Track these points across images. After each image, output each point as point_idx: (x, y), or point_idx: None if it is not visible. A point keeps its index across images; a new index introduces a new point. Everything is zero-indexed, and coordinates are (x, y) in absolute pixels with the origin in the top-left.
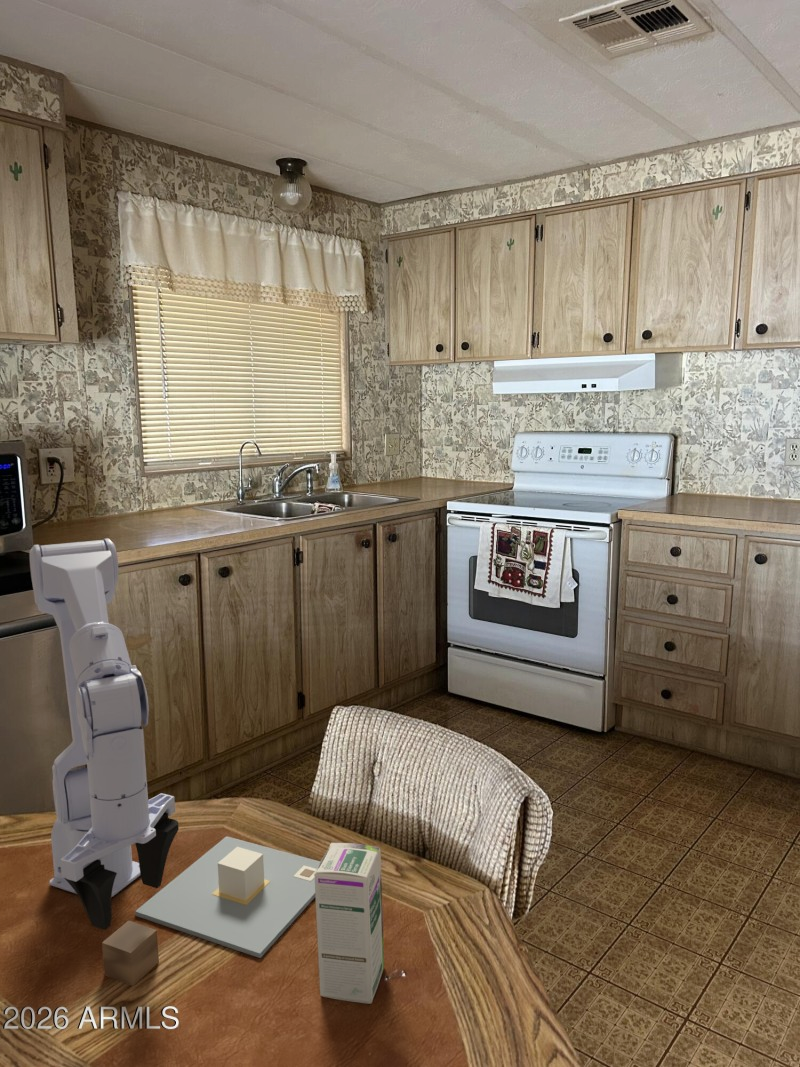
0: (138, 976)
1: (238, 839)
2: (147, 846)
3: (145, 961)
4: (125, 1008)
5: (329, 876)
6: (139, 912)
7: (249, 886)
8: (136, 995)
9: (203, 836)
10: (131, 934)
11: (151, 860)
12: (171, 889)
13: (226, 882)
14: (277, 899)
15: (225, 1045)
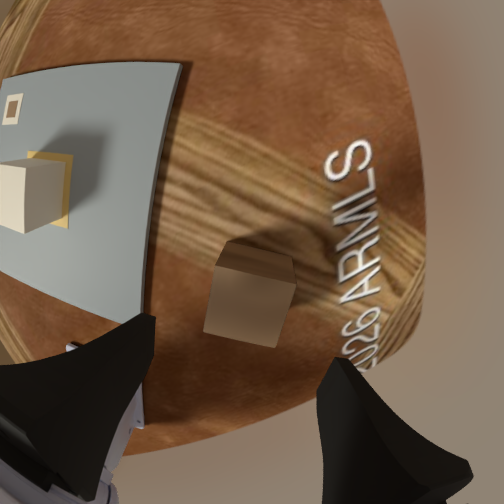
0: (277, 256)
1: None
2: (99, 426)
3: (258, 257)
4: (340, 243)
5: None
6: None
7: (44, 162)
8: (311, 240)
9: (5, 296)
10: (241, 309)
11: (118, 383)
12: (82, 297)
13: (47, 206)
14: (56, 113)
15: (381, 58)
